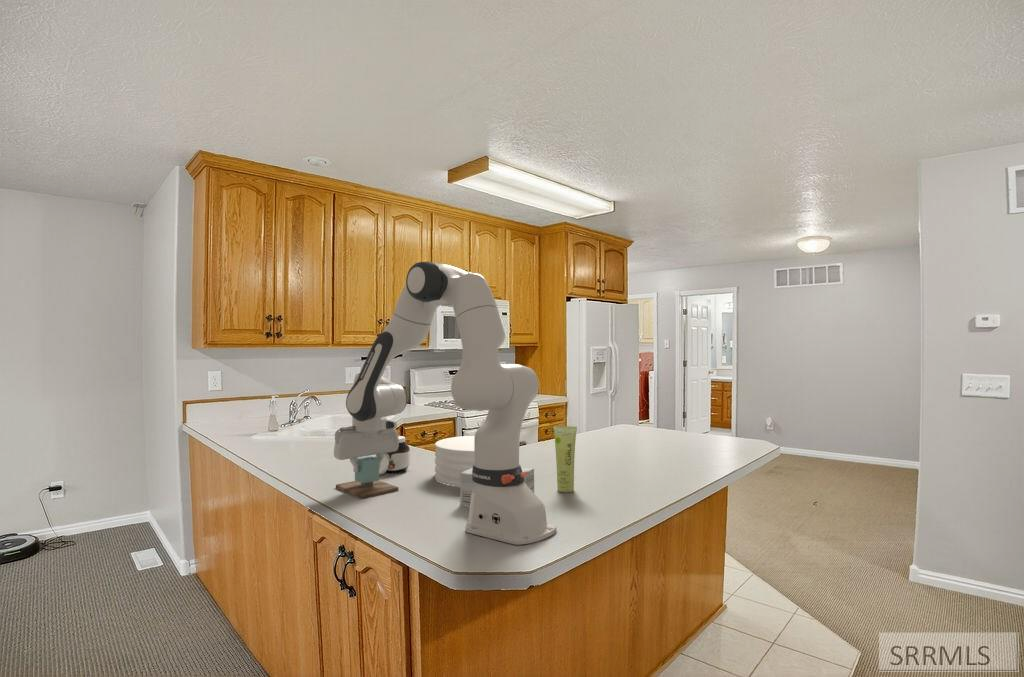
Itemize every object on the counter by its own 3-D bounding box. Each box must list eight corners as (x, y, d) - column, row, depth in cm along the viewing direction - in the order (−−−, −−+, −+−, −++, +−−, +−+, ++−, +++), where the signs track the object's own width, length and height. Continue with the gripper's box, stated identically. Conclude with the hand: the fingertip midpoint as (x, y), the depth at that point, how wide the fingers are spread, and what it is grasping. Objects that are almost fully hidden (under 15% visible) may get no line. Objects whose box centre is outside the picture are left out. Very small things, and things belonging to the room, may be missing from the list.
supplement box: (535, 501, 147) (535, 467, 147) (515, 514, 135) (515, 478, 136) (482, 493, 154) (482, 462, 155) (459, 506, 143) (459, 471, 143)
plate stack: (420, 484, 165) (420, 447, 165) (454, 465, 192) (455, 433, 192) (504, 491, 157) (504, 453, 157) (528, 470, 184) (528, 437, 184)
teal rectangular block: (378, 480, 158) (379, 458, 159) (363, 483, 155) (363, 461, 155) (370, 477, 162) (370, 456, 162) (354, 480, 158) (354, 458, 159)
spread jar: (412, 468, 185) (412, 436, 186) (402, 476, 174) (402, 441, 174) (379, 468, 187) (379, 435, 187) (367, 475, 175) (368, 440, 175)
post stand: (398, 490, 157) (398, 465, 157) (362, 498, 148) (362, 472, 149) (371, 480, 168) (371, 457, 168) (335, 487, 160) (336, 463, 160)
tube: (559, 493, 154) (559, 427, 155) (552, 489, 159) (553, 425, 159) (576, 492, 156) (576, 426, 156) (570, 487, 161) (570, 424, 161)
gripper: (340, 429, 149) (339, 478, 149) (401, 422, 164) (401, 466, 163) (330, 427, 154) (329, 474, 153) (390, 420, 168) (390, 463, 168)
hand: (367, 470), depth 158 cm, fingers closed on teal rectangular block, 5 cm apart
